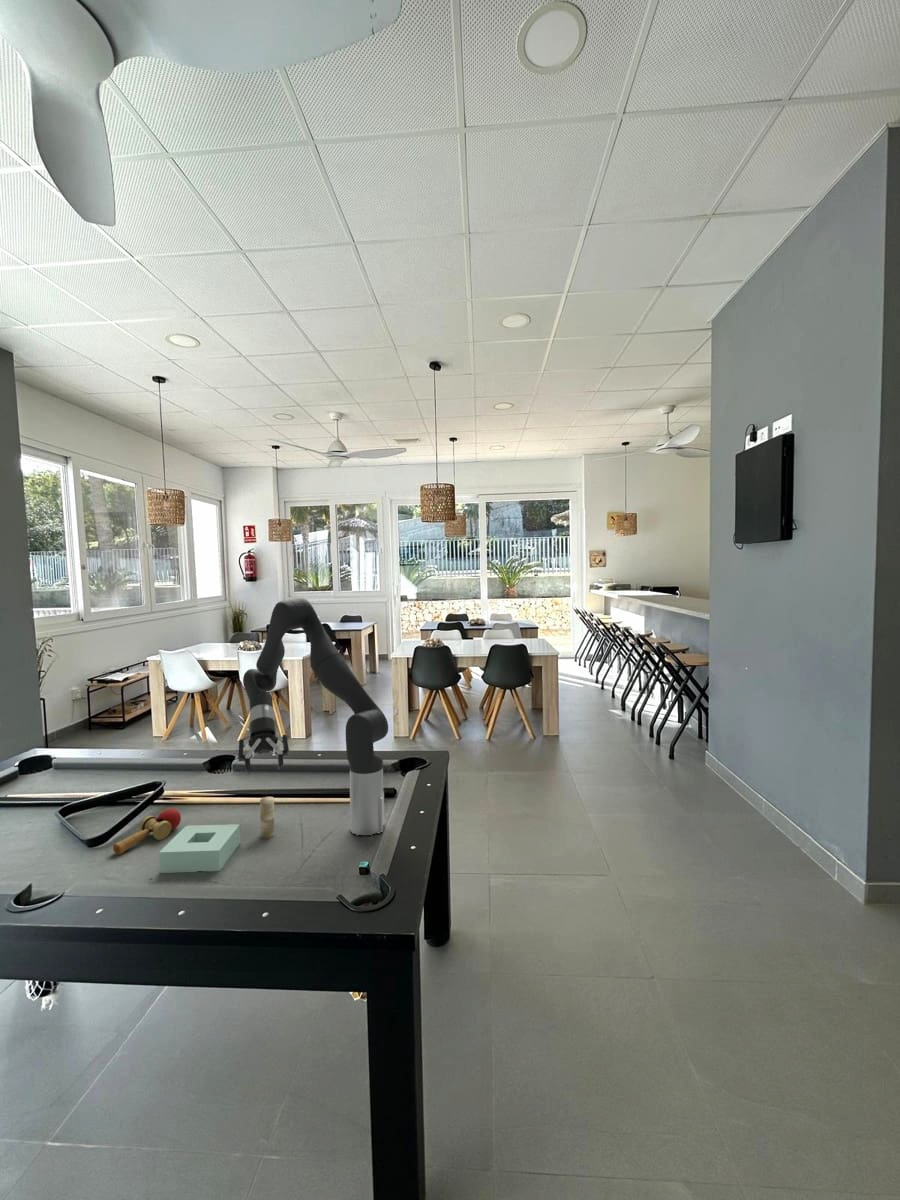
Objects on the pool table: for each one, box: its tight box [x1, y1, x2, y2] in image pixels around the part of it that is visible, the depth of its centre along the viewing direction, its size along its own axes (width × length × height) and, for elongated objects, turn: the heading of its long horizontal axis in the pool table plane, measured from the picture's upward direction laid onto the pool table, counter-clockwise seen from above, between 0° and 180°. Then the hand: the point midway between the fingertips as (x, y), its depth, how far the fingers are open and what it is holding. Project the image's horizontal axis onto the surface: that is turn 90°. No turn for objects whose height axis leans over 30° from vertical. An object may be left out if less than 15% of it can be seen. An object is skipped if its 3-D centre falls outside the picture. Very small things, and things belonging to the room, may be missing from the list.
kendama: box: [112, 808, 182, 856], centre depth 140 cm, size 8×6×18 cm
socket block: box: [158, 824, 241, 874], centre depth 131 cm, size 14×14×5 cm
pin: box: [259, 796, 275, 839], centre depth 142 cm, size 4×4×10 cm
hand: (264, 770), depth 153 cm, fingers open, 8 cm apart
